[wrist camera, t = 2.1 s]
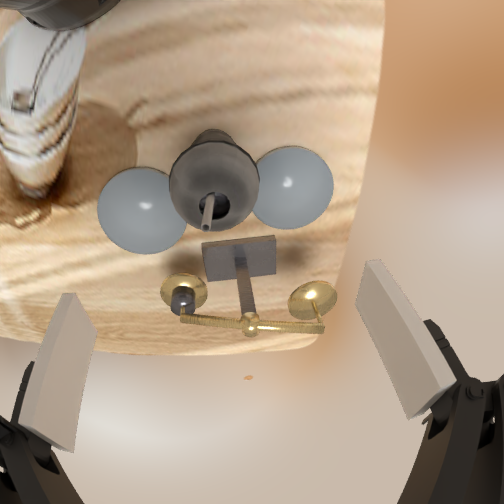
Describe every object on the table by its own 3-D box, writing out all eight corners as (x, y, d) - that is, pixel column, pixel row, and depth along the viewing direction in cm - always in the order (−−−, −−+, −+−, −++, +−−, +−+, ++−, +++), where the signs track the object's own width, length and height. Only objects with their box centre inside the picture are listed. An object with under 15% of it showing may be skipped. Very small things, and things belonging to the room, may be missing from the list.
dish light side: (244, 148, 32) (245, 151, 31) (332, 145, 33) (336, 148, 32) (248, 228, 38) (249, 233, 37) (326, 221, 39) (329, 225, 38)
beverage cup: (199, 186, 34) (190, 309, 18) (171, 135, 30) (122, 220, 13) (254, 161, 33) (299, 267, 17) (230, 107, 29) (253, 156, 13)
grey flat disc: (90, 176, 31) (86, 180, 30) (180, 159, 31) (179, 163, 30) (114, 253, 38) (112, 258, 37) (194, 243, 39) (194, 249, 38)
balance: (161, 247, 38) (145, 335, 26) (313, 231, 40) (355, 309, 28) (170, 280, 42) (161, 366, 30) (310, 264, 43) (344, 343, 31)
